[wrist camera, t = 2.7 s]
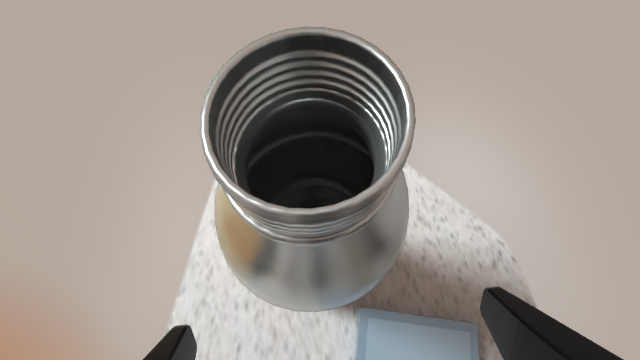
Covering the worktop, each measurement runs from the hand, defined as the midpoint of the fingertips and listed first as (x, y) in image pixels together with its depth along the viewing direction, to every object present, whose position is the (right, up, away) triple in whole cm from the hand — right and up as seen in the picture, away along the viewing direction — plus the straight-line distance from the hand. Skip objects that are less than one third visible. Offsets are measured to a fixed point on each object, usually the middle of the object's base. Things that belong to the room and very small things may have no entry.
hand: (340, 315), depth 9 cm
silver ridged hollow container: (-1, -2, +15) cm, 15 cm away
